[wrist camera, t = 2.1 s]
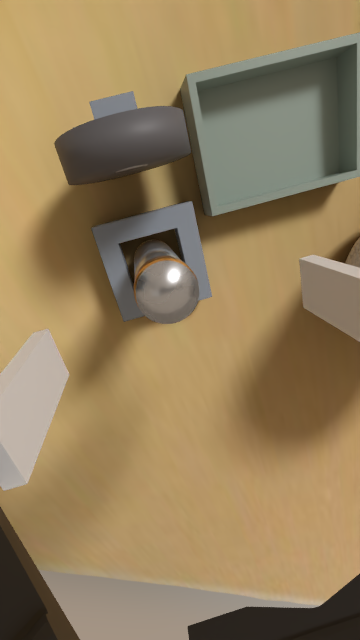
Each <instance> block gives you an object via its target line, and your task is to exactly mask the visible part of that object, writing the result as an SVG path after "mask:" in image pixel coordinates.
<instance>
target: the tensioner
mask: <svg viewBox="0 0 360 640" xmlns="http://www.w3.org/2000/svg"><path fill="white" fill-rule="evenodd" d="M90 106H91V109H92V112H93V116H94V119H95V120H92V121H89V122H87V123H84V124H82V125H79V126H77V127H74V128H73V129H71V130H69V131H67V132H65V133H64V134H62V135H61V136H60V137H58V138H57V140H56V141H55V143H54V144H55V148H56V151H57V153H58V156H59V159H60V162H61V164H62V167H63V170H64V173H65V176H66V178H67V181H68V184H69V185H82V184H89V183H95V182H100V181H105V180H110V179H115V178H119V177H123V176H127V175H131V174H135V173H138V172H142V171H146V170H149V169H152V168H156V167H159V166H162V165H165V164H168V163H171V162H174V161H176V160H179V159H181V158H183V157H186V156H187V155H189V154H190V153H191V148H190V143H189V138H188V133H187V128H186V123H185V118H184V113H183V110H182V109H180V108H177V107H171V106H156V107H146V108H139V109H137V105H136V101H135V97H134V93H133V91H132V92H128V93H124V94H120V95H115V96H111V97H107V98H103V99H99V100H95V101H91V102H90ZM91 229H92V232H93V235H94V238H95V241H96V244H97V247H98V249H99V252H100V255H101V258H102V261H103V264H104V267H105V269H106V272H107V275H108V278H109V281H110V284H111V287H112V289H113V292H114V295H115V298H116V301H117V304H118V307H119V310H120V312H121V315H122V318H123V321H124V322H125V321H128V320H132V319H135V318H139V317H142V316H145V315H144V314H143V313H142V311H141V310H140V309H139V307H138V305H137V303H136V301H135V297H134V285H133V282H132V279H131V276H130V272H129V269H128V266H127V263H126V260H125V257H124V254H123V250H122V247H121V244H120V243H122V242H126V241H130V240H133V239H137V238H141V237H144V236H148V235H152V234H156V233H159V232H163V231H167V230H170V229H174V230H175V234H176V238H177V242H178V246H179V251H180V255H181V259H182V261H183V262H185V263H186V264H187V265H188V266H189V267H190V269H191V270H192V271H193V272H194V274H195V275H196V278H197V280H198V285H199V299H198V301H199V300H202V299H206V298H209V297H212V294H211V289H210V284H209V279H208V275H207V270H206V265H205V260H204V255H203V251H202V246H201V241H200V236H199V231H198V227H197V222H196V217H195V212H194V207H193V203H192V201H187V202H183V203H179V204H175V205H172V206H168V207H164V208H160V209H157V210H153V211H149V212H145V213H142V214H138V215H134V216H130V217H127V218H123V219H119V220H115V221H112V222H108V223H104V224H100V225H97V226H94V227H92V228H91Z"/></svg>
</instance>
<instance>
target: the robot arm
mask: <svg viewBox="0 0 360 640" xmlns="http://www.w3.org/2000/svg"><path fill="white" fill-rule="evenodd" d="M299 262H300V274H301V286H302V298H303V308H305V309H306V310H308V311H310V312H311V313H313V314H315V315H316V316H318V317H320V318H321V319H323V320H325V321H326V322H328V323H329V324H331V325H333V326H334V327H336V328H338V329H339V330H341V331H343V332H344V333H346V334H347V335H349V336H351V337H352V338H354V339H356V340H357V341H359V342H360V268H359V267H355V266H352V265H348V264H345V263H341V262H338V261H334V260H330V259H327V258H323V257H320V256H316V255H311V256H307V257H303V258H300V259H299ZM68 377H69V372H68V370H67V368H66V366H65V364H64V362H63V360H62V357H61V355H60V353H59V351H58V349H57V347H56V344H55V342H54V340H53V338H52V336H51V334H50V331H49V329H45V330H42V331H38V332H34V333H32V335H31V336H30V337H29V339H28V340H27V341H26V342H25V344H24V345H23V346H22V347H21V349H20V350H19V351H18V352H17V354H16V355H15V356H14V357H13V359H12V360H11V361H10V362H9V364H8V365H7V366H6V367H5V369H4V370H3V371H2V372H1V374H0V486H1V488H2V489H3V490H4V491H5V490H9V489H12V488H15V487H19V486H22V485H25V484H27V483H28V481H29V478H30V476H31V473H32V470H33V468H34V465H35V463H36V460H37V457H38V455H39V452H40V450H41V447H42V444H43V442H44V439H45V437H46V434H47V431H48V429H49V426H50V424H51V421H52V418H53V416H54V413H55V411H56V408H57V405H58V403H59V400H60V398H61V395H62V392H63V390H64V387H65V385H66V382H67V379H68ZM188 634H189V640H360V574H359V575H358V576H356V577H355V578H354V579H353V580H351V581H350V582H349V583H348V584H347V585H345V586H344V587H343V588H342V589H341V590H339V591H338V592H337V593H336V594H335V595H333V596H332V597H331V598H330V599H328V600H327V601H326V602H325V603H324V604H322V605H321V606H319V607H316V608H275V607H245V608H242V609H239V610H236V611H233V612H229V613H226V614H223V615H220V616H217V617H214V618H211V619H208V620H205V621H202V622H199V623H196V624H193V625H190V626H188ZM0 640H80V639H79V637H78V636H77V634H76V632H75V631H74V629H73V627H72V626H71V624H70V622H69V621H68V619H67V617H66V616H65V614H64V612H63V611H62V609H61V607H60V606H59V604H58V602H57V601H56V599H55V598H54V596H53V594H52V592H51V591H50V589H49V587H48V586H47V584H46V582H45V581H44V579H43V577H42V575H41V574H40V572H39V570H38V569H37V567H36V565H35V564H34V562H33V560H32V559H31V557H30V555H29V554H28V552H27V550H26V549H25V547H24V545H23V544H22V542H21V540H20V539H19V537H18V535H17V534H16V532H15V530H14V529H13V527H12V525H11V524H10V522H9V520H8V519H7V517H6V515H5V514H4V512H3V510H2V509H1V507H0Z"/></svg>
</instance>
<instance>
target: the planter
mask: <svg viewBox="0 0 360 640" xmlns="http://www.w3.org/2000/svg"><path fill="white" fill-rule="evenodd" d="M345 264H348V265H352V266H355V267H359V268H360V237H359V239H358V240H357V241H356V243H355V244H354V246H353V247H352V249H351V251H350V253H349V255H348V257H347V260H346V262H345Z"/></svg>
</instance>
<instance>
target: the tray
mask: <svg viewBox="0 0 360 640" xmlns="http://www.w3.org/2000/svg"><path fill="white" fill-rule="evenodd" d="M180 91H181V97H182V102H183V107H184V112H185V117H186V122H187V127H188V132H189V137H190V142H191V148H192V153H193V158H194V163H195V168H196V173H197V178H198V183H199V188H200V193H201V199H202V204H203V209H204V214H205V215H208V216H215V215H219V214H223V213H227V212H230V211H234V210H238V209H241V208H245V207H249V206H252V205H256V204H260V203H264V202H267V201H271V200H275V199H278V198H282V197H286V196H289V195H293V194H297V193H301V192H304V191H308V190H312V189H315V188H319V187H323V186H326V185H330V184H334V183H338V182H341V181H345V180H349V179H352V178H356V177H360V33H355V34H351V35H347V36H343V37H339V38H335V39H331V40H327V41H323V42H318V43H314V44H310V45H306V46H302V47H298V48H294V49H290V50H286V51H281V52H277V53H273V54H269V55H265V56H261V57H257V58H253V59H249V60H244V61H240V62H236V63H232V64H228V65H224V66H220V67H216V68H212V69H208V70H203V71H199V72H195V73H191V74H187V75H186V76H185V79H184V81H183V83H182V86H181V88H180Z"/></svg>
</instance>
